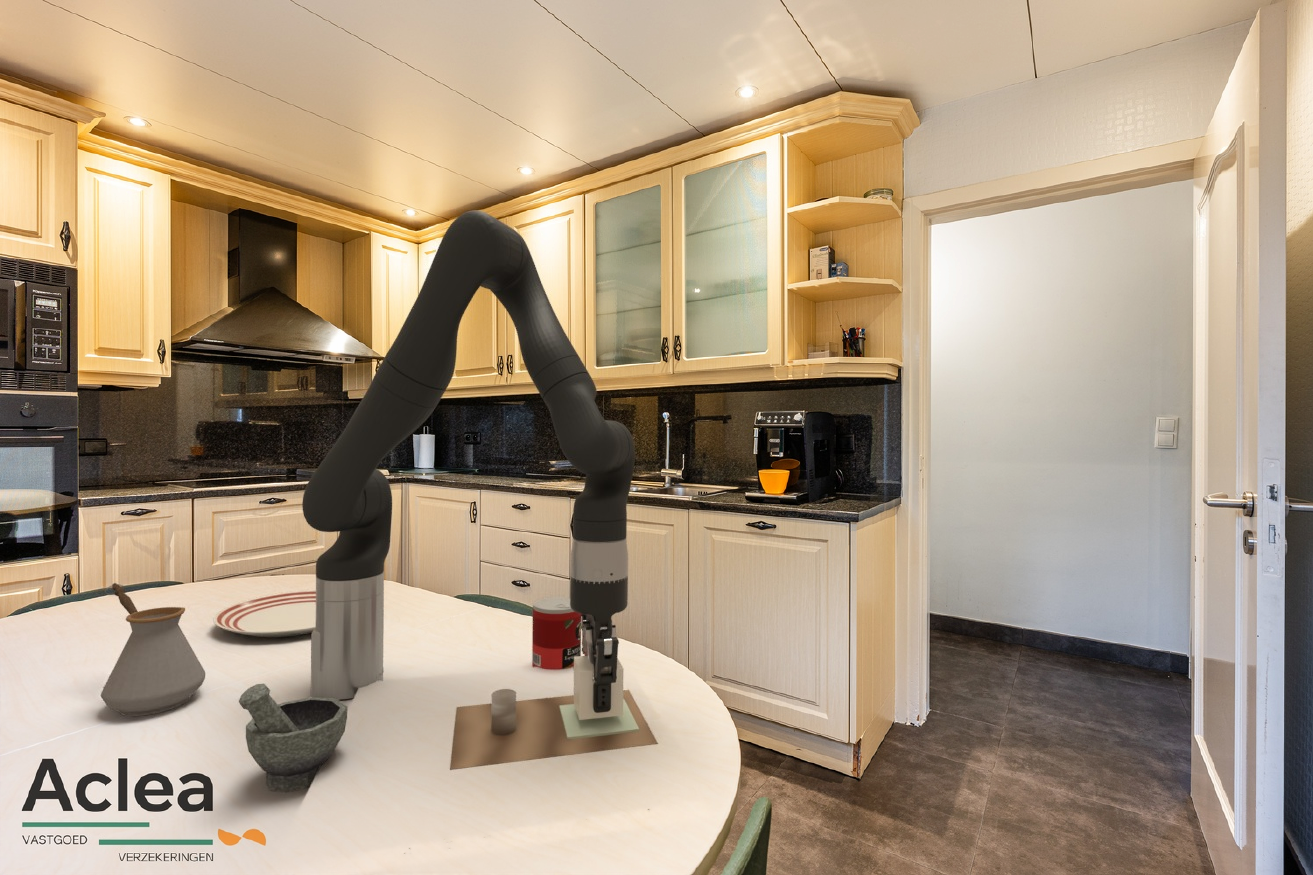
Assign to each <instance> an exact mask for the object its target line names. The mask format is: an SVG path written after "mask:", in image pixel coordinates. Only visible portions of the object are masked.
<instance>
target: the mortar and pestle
mask: <svg viewBox="0 0 1313 875" xmlns="http://www.w3.org/2000/svg"><path fill="white" fill-rule="evenodd" d="M270 692H271V689H270V688H269V687H268V686H267V685H266V683H257V684H255V685H252V686H250V687H248V688H247V689H246V690H245V691H244V692H243V693H242V694H241V695H240V697H239V699H238V703H239V705H240V706H241V707H242V709H244V710H247V711H248V713H249V715H250V717H251V719H250V720H249V722H248V723H246V725H245V740H246V745H247V750H248V753H249V754H250V755H251V757H252V758H253V760H254V761H255V763H257V766H259V767H260V769H261V770H262V771H263V772H265V773H266V775H265V781H264V782H265V783H264V785H265V786H266V787H267V788H268V789H269V790H270V792H281V793H289V792H294V791H299V790H303V789H308V788H310V787H311V786H312V784H313V781H314V780H315V778H316V776H317V774H318V771H319V770H320V767H321V766H323V764H324V763H325V762H326V761H327V760H328V759H329V758H330V757H331V756H332V755H333V753H334V752H335V750H336V748H337V747H338V745H339V743H340V741H341V740H342V737H343V735H344V733H345V731H346V727H347V726H346V725H347V720H348V706H347V705H346V704H345V703H343V702H342V701H341V700H338V699H335V698H318V697H311V696H310V697H306V698H302V699H301V698H300V699H294V700H290V701H285V702H281V703H279V704H278V703H277V702H276V701H275V700H274V698H273V697H272V696H271V694H270Z"/></svg>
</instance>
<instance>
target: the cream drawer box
mask: <svg viewBox="0 0 1313 875" xmlns="http://www.w3.org/2000/svg"><path fill="white" fill-rule="evenodd" d="M594 656H595V657H596V655H594ZM606 672H608V669H607V667H603V668H602V669H601V673H606ZM616 676H617V679H616V683H611V709H610V711H608V712H601V713H596V712H594V710H593V681H592V677H593V671H592V665H591V664H589V663H588V656H584V655H581V656H576V657H574V667H573V695H574V699H573V701H574V705H575V708H576V711H577V714H578V718H579V720H584V719H593V718H603V717H612V716H621V715H623V690H624V668H623V665H622V663H621V662H620V660H619V658H618V657H617V674H616Z"/></svg>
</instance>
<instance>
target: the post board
mask: <svg viewBox="0 0 1313 875" xmlns="http://www.w3.org/2000/svg"><path fill="white" fill-rule="evenodd" d="M573 699H574V694H573V695H564V696H553V697H543V698H535V699H534V698H533V699H523V700H522V699H521V700H517V691H515V690H513V689H511V688H503V689H498V690H495V691H494V692H492V694H491V703H484V704H483V703H481V704H476V705H474V704H473V705H465V706H464V705H463V706H456V709H455V720H454V730H453V736H452V737H453V738H452V747H451V754H450V756H451V757H450V764H449V771H452V770H453V771H454V770H462V769H468V768H475V767H477V768H478V767H484V766H485V767H486V766H493V765H499V764H508V763H509V764H510V763H516V762H517V763H518V762H524V761H533V760H538V759H540V760H542V759H547V758H548V759H549V758H555V757H562V756H563V757H564V756H573V755H581V754H589V753H596V752H603V751H612V750H619V749H621V750H622V749H625V748H626V749H628V748H635V747H642V746H643V747H644V746H653V745H658V744H659V743H658V740H657V738H656V737H655V735H654V734H653V732H652V729H651V728H650V726H649V724H648V722H647V721H646V719H645V716H644V715H643V713H642V711H641V709H640V707H639V706H638V704H637V702H636V700H635V699H634V697H633V695H632V693H631V691H630V690H629V689H625V690H624V689H623V699H624V700H625V702H626V704H627V706H628V708H629V710H630V712H631V714H632V716H633V718H634V720H635V722H636V724H637V726H638V728H639V731H637V732H629V733H620V734H612V735H603V736H595V737H587V738H578V739H570V740H568V739H567V735H566V731H565V728H564V724H563V720H562V716H561V712H560V708H559V706H560V705H569V704H574V701H573Z"/></svg>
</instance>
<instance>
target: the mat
mask: <svg viewBox="0 0 1313 875" xmlns="http://www.w3.org/2000/svg"><path fill="white" fill-rule="evenodd" d="M559 708H560V712H561V716H562V720H563V724H564V728H565V731H566V735H567V739H568V740H570V739H578V738H587V737H595V736H603V735H612V734H620V733H629V732H637V731H639V728H638V726H637V724H636V722H635V720H634V718H633V716H632V714H631V712H630V710H629V708H628V706H627V704H626V702H625V700H624V699H623V715H621V716H612V717H603V718H593V719H584V720H579V718H578V714H577V711H576V708H575V705H574V704H569V705H560V706H559Z"/></svg>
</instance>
